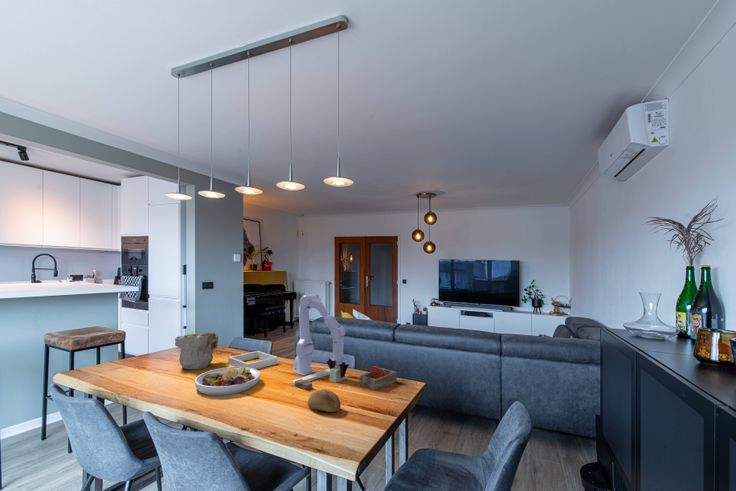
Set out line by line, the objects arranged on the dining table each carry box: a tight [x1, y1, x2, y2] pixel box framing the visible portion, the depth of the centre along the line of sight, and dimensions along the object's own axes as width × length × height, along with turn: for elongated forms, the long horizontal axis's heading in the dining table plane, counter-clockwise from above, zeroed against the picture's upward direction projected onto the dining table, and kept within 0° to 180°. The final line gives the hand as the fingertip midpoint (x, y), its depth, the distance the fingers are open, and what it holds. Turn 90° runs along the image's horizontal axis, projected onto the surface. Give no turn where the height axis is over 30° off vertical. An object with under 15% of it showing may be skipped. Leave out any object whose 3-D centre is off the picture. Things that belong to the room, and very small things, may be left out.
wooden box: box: [359, 367, 397, 392], centre depth 170 cm, size 10×17×5 cm, turn 141°
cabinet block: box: [329, 365, 346, 383], centre depth 175 cm, size 4×7×6 cm, turn 141°
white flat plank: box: [290, 368, 330, 386], centre depth 178 cm, size 4×28×2 cm, turn 141°
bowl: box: [194, 366, 261, 396], centre depth 165 cm, size 30×30×8 cm
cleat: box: [294, 379, 313, 391], centre depth 164 cm, size 8×4×2 cm, turn 51°
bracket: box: [369, 365, 392, 388], centre depth 170 cm, size 12×4×8 cm, turn 65°
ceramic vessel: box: [174, 331, 219, 370], centre depth 197 cm, size 23×24×25 cm
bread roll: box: [307, 388, 341, 413], centre depth 139 cm, size 10×15×8 cm, turn 69°
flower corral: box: [227, 350, 279, 370], centre depth 201 cm, size 21×20×4 cm
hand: (337, 375), depth 175 cm, fingers open, 7 cm apart
